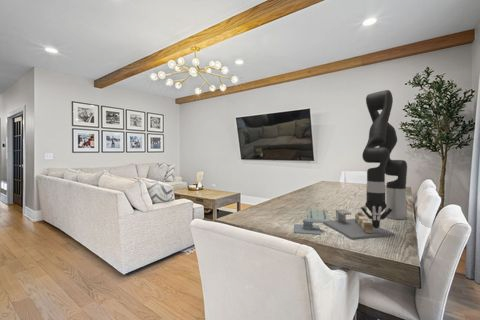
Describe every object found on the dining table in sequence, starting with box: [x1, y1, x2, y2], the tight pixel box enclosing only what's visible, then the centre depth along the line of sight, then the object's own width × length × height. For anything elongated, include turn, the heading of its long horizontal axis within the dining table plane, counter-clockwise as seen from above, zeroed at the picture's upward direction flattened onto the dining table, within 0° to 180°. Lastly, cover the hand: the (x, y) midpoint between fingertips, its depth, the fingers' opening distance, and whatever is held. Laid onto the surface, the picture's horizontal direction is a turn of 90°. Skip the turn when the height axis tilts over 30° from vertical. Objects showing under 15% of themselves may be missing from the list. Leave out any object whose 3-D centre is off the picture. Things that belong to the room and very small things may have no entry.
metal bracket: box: [304, 208, 333, 221], centre depth 132 cm, size 14×6×15 cm
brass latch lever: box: [354, 213, 373, 233], centre depth 114 cm, size 19×4×4 cm, turn 165°
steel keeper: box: [335, 209, 352, 222], centre depth 121 cm, size 4×6×6 cm
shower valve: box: [293, 218, 326, 236], centre depth 113 cm, size 12×6×15 cm
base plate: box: [323, 211, 396, 241], centre depth 114 cm, size 22×24×6 cm
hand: (375, 227), depth 106 cm, fingers closed
